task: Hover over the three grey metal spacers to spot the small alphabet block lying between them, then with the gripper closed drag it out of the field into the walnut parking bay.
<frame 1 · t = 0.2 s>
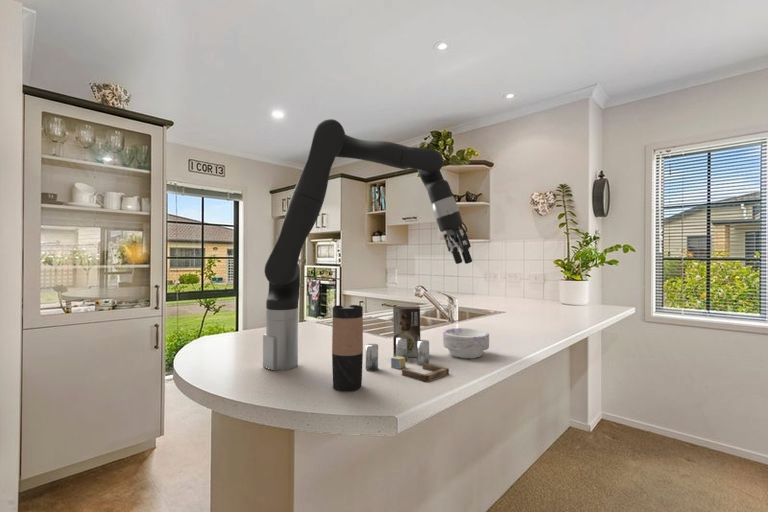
hand: (464, 263, 117), 31 cm above the countertop, tool tilted 20°, fingers open, 8 cm apart
marble bowl: (465, 355, 126), on the countertop
spacer b: (401, 359, 120), on the countertop
travel mug: (347, 387, 94), on the countertop
coffee box: (406, 355, 126), on the countertop
alphabet block: (398, 368, 111), on the countertop
spacer a: (371, 369, 109), on the countertop
spacer c: (423, 364, 115), on the countertop
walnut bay: (424, 374, 104), on the countertop
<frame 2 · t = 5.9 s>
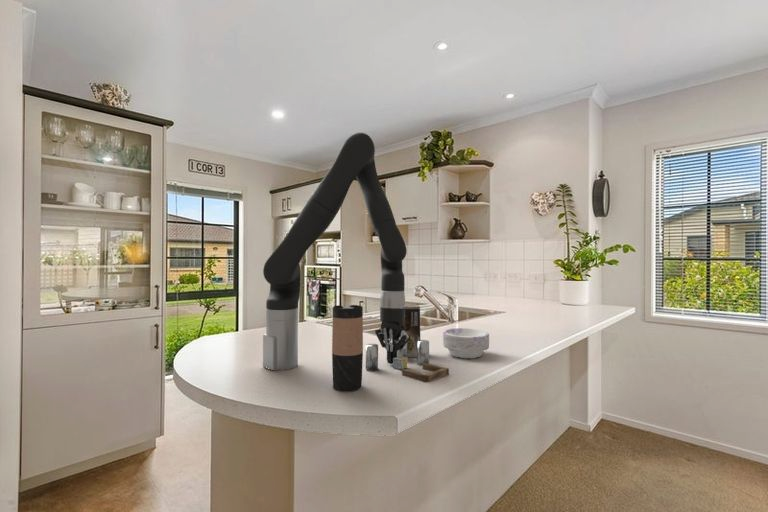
hand: (391, 363, 113), 1 cm above the countertop, tool pointing down, fingers closed
alphabet block: (400, 368, 111), on the countertop, touching gripper
everything else where it was.
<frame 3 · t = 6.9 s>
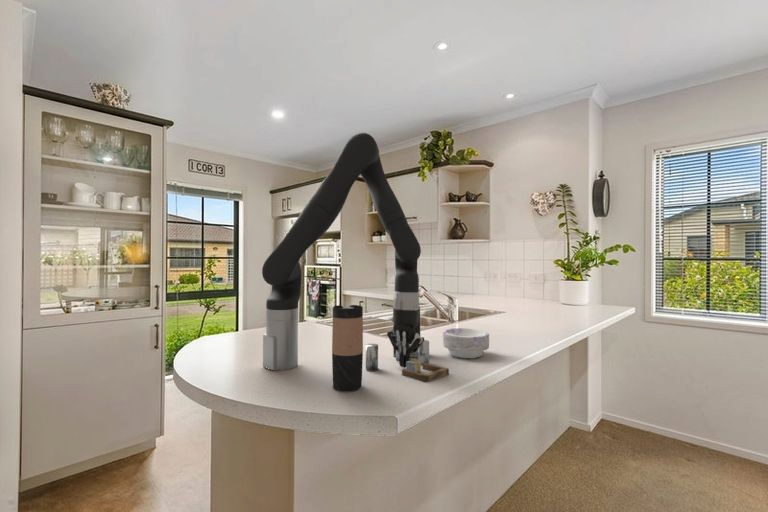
hand: (404, 366, 109), 1 cm above the countertop, tool pointing down, fingers closed
alphabet block: (413, 372, 107), on the countertop, touching gripper
everything else where it was.
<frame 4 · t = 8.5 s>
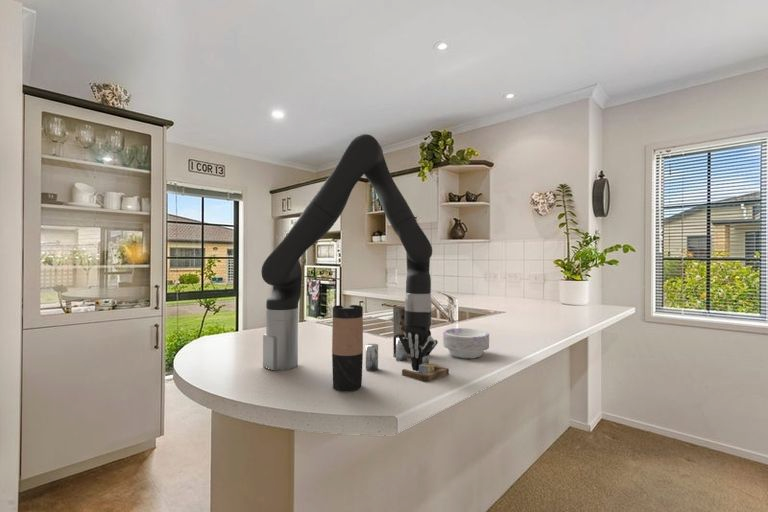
hand: (416, 370, 106), 1 cm above the countertop, tool pointing down, fingers closed
alphabet block: (426, 376, 103), on the countertop, touching gripper
everything else where it was.
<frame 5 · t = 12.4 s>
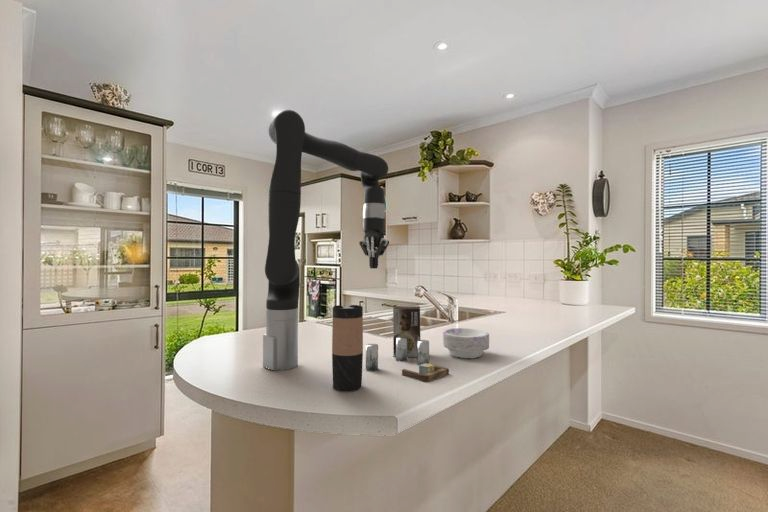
hand: (373, 268, 128), 29 cm above the countertop, tool pointing down, fingers closed
alphabet block: (426, 376, 103), on the countertop
everything else where it was.
at the end: alphabet block inside the target area (1.7 cm from its centre), on the countertop; alphabet block moved 10.9 cm from its start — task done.
